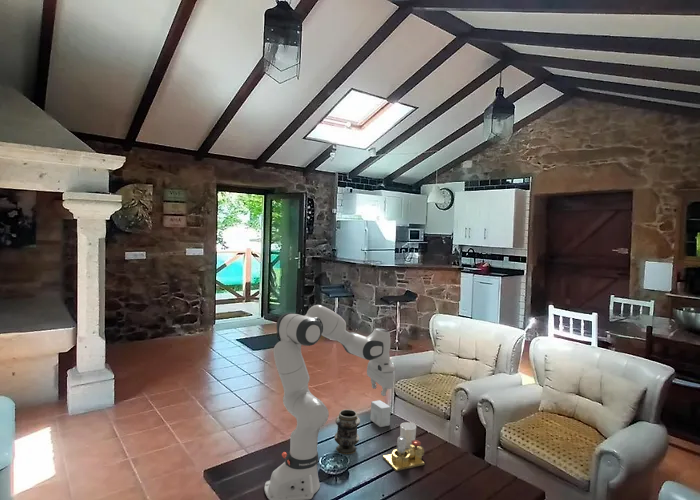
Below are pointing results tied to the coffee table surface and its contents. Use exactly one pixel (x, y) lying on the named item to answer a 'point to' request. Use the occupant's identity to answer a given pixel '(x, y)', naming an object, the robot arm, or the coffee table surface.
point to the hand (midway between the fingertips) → (378, 391)
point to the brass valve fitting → (406, 457)
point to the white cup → (408, 432)
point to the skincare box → (380, 413)
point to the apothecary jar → (347, 431)
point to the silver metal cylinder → (401, 446)
